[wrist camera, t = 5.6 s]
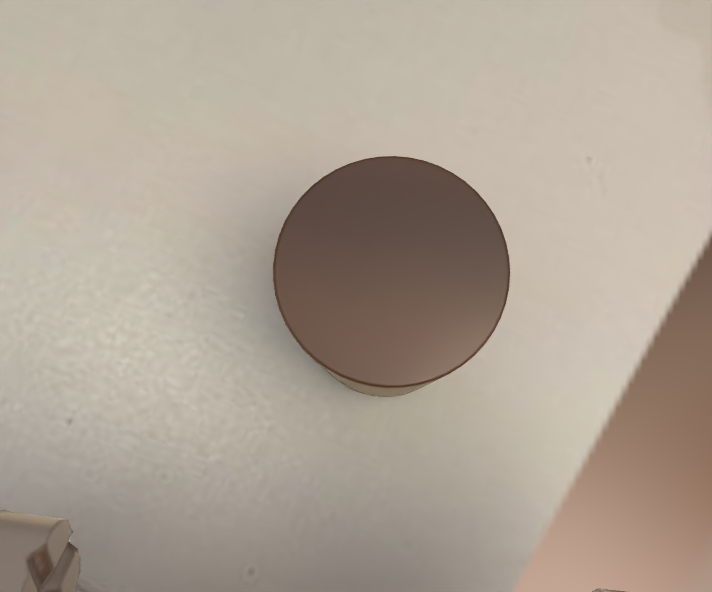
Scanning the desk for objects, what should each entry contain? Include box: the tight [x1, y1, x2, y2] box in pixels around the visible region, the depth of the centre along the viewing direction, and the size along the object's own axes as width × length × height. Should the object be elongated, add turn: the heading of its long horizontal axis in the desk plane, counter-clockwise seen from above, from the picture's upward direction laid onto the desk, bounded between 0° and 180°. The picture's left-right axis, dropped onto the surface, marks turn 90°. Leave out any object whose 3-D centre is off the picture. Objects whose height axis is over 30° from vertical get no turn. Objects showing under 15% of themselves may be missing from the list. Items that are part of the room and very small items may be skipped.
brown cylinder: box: [273, 156, 510, 397], centre depth 17 cm, size 4×4×8 cm
